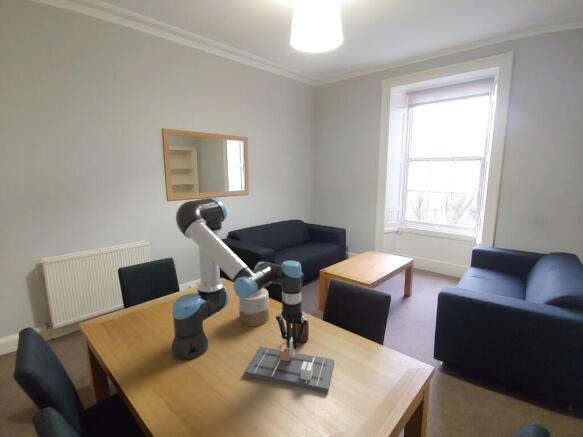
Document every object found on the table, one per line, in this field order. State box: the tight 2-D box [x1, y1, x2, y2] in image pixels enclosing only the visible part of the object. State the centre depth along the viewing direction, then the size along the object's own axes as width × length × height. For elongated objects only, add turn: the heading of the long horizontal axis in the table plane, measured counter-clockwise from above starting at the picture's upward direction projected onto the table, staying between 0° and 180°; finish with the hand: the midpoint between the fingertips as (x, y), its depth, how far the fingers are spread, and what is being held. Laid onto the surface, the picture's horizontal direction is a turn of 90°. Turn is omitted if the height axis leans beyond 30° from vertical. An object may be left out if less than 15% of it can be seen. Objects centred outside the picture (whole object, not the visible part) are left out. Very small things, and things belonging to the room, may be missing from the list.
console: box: [243, 346, 335, 394], centre depth 115 cm, size 32×16×2 cm, turn 74°
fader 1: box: [279, 343, 291, 361], centre depth 119 cm, size 4×4×4 cm
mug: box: [291, 316, 310, 344], centre depth 132 cm, size 12×8×9 cm, turn 148°
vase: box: [238, 287, 270, 327], centre depth 151 cm, size 15×15×17 cm
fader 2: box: [301, 361, 313, 380], centre depth 108 cm, size 4×4×4 cm
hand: (292, 354), depth 118 cm, fingers closed
